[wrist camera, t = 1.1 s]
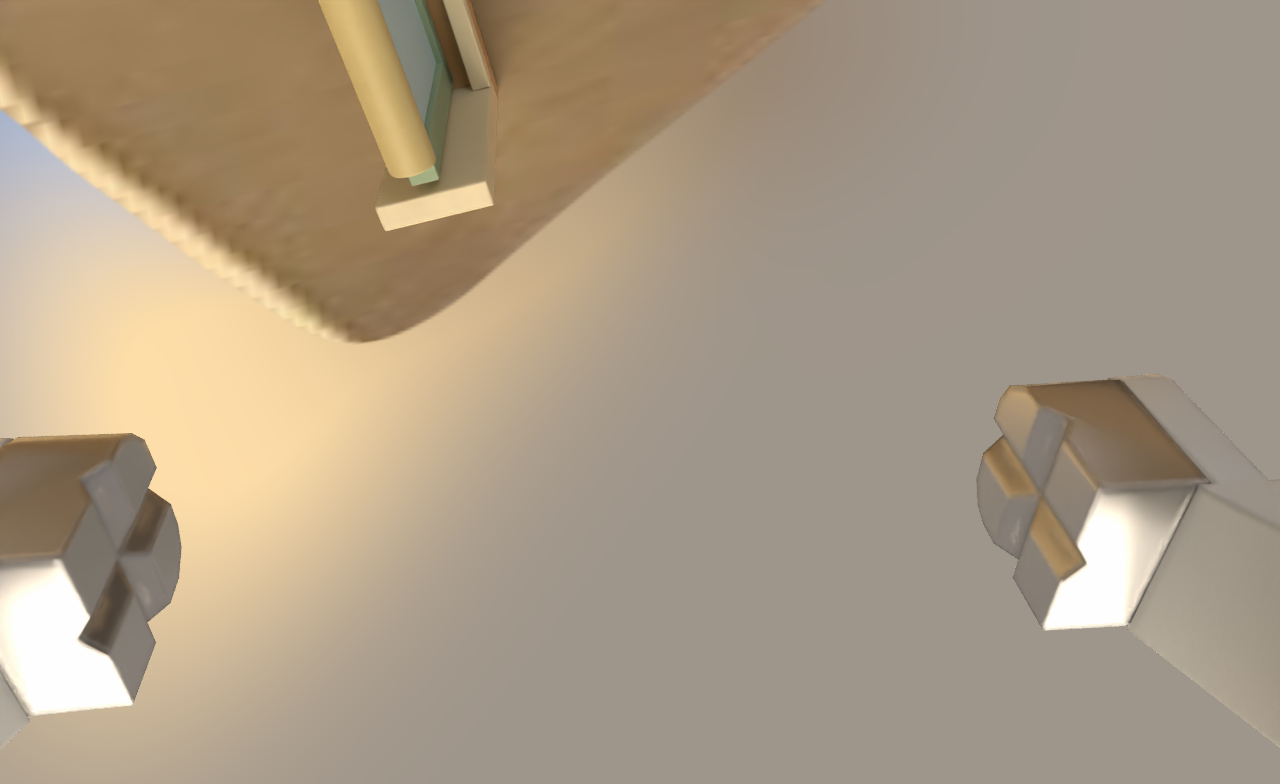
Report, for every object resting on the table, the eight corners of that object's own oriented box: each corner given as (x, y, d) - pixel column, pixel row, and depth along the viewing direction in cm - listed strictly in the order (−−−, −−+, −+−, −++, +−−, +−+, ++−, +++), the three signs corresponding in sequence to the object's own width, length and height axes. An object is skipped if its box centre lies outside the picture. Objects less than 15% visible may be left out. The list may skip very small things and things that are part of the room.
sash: (424, 89, 40) (398, 210, 31) (348, -119, 35) (293, -43, 26) (460, 79, 40) (445, 199, 31) (390, -130, 35) (348, -57, 26)
